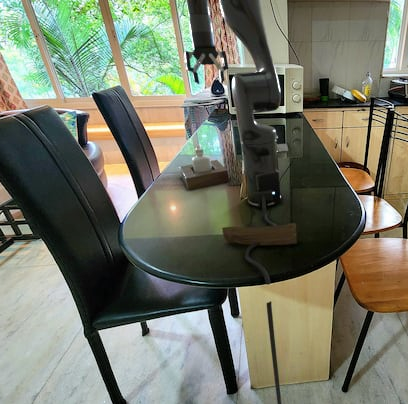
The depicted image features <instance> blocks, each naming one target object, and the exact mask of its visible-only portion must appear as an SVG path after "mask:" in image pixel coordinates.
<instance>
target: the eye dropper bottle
mask: <svg viewBox="0 0 408 404" xmlns="http://www.w3.org/2000/svg"><path fill="white" fill-rule="evenodd" d="M200 145H201V144H196V148H195V149H194V152H195V155H196V156H194V157H192V159H191V162H192V164H193V167H194V172H195V173H200V172H205V171H210V170H212V167H211V161H212V160H211V158H210V156H209V155H207V154H205V152H204V148H203V147H201V146H200Z"/></svg>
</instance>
